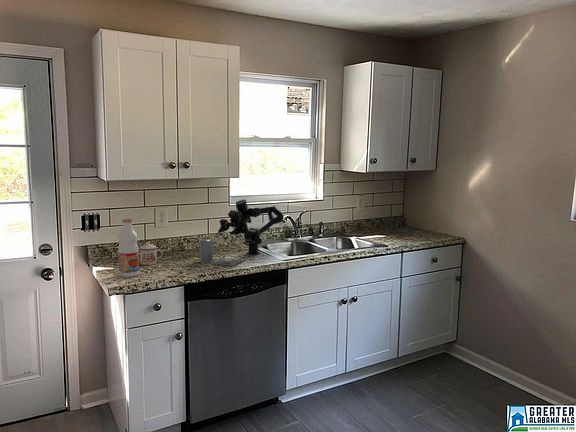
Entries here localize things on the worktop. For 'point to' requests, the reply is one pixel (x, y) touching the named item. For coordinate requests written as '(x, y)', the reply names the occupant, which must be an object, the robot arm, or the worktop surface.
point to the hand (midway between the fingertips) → (224, 233)
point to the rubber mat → (227, 262)
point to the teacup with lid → (149, 254)
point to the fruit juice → (128, 250)
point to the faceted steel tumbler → (206, 250)
